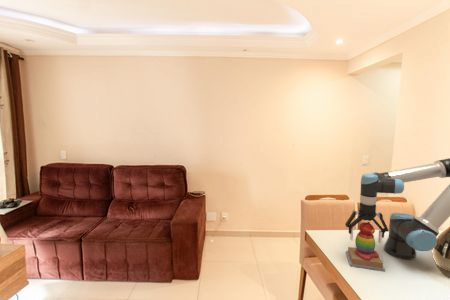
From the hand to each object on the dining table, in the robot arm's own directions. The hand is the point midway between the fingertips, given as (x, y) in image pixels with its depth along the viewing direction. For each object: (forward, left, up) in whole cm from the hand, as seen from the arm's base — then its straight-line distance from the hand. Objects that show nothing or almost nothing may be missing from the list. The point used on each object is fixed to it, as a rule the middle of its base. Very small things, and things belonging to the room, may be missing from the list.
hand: (365, 241), depth 133 cm
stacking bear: (0, 0, -8) cm, 8 cm away
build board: (0, 0, -12) cm, 12 cm away
